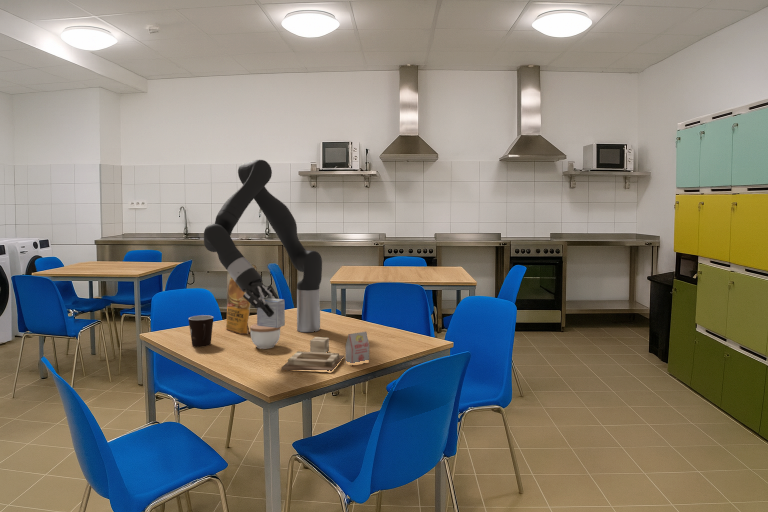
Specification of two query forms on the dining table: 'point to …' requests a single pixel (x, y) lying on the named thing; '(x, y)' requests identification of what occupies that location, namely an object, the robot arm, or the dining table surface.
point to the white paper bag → (357, 347)
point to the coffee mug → (201, 330)
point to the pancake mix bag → (237, 307)
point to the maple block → (319, 345)
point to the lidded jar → (264, 336)
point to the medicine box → (277, 317)
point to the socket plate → (297, 367)
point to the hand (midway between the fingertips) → (276, 313)
